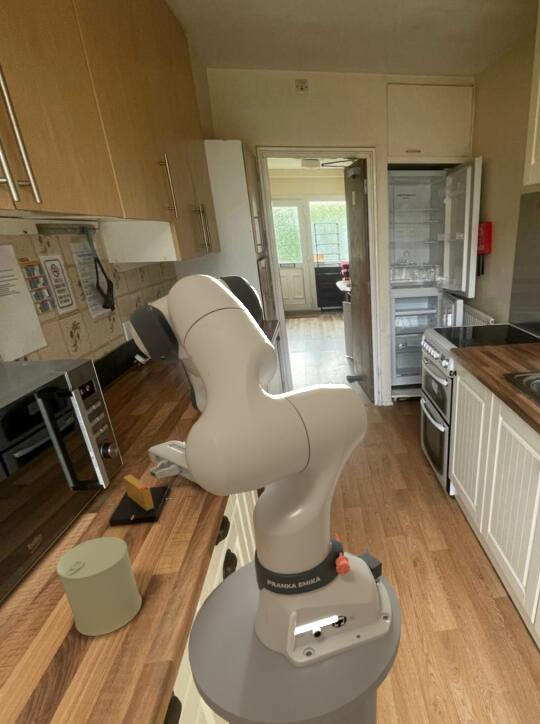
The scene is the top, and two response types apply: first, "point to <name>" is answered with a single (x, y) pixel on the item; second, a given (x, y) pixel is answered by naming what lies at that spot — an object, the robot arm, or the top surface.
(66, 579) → the can
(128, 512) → the lock plate
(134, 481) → the lock turn
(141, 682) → the top surface
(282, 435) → the robot arm
